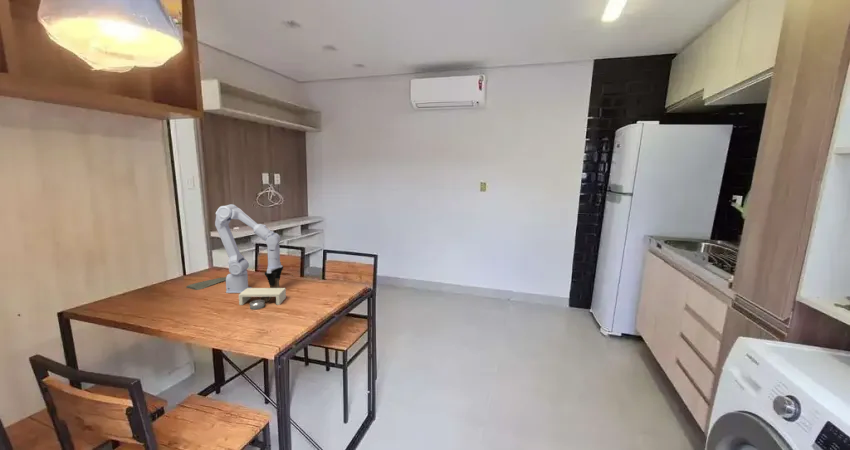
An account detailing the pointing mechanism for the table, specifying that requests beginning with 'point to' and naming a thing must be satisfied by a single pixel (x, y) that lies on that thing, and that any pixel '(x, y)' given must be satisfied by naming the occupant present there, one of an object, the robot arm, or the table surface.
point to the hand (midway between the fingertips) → (274, 282)
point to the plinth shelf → (263, 294)
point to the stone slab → (205, 283)
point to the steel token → (257, 304)
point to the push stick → (271, 287)
